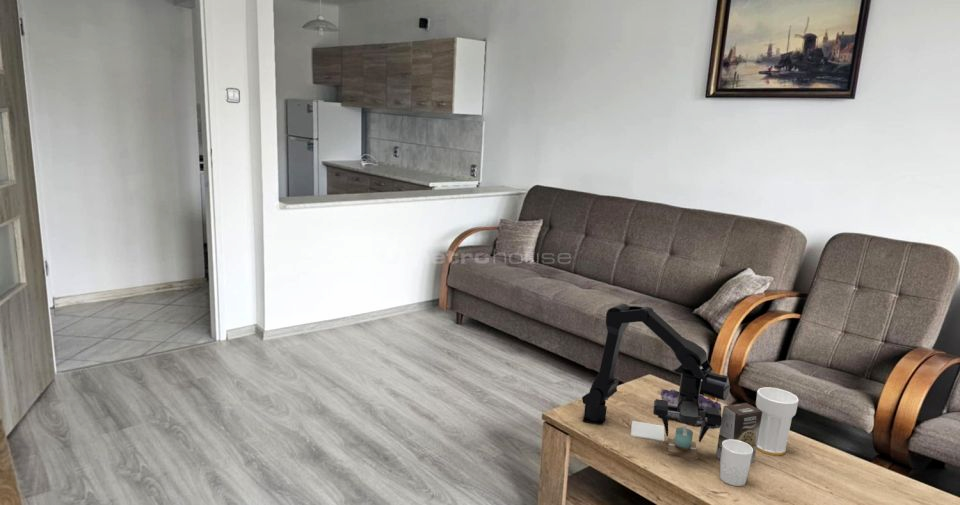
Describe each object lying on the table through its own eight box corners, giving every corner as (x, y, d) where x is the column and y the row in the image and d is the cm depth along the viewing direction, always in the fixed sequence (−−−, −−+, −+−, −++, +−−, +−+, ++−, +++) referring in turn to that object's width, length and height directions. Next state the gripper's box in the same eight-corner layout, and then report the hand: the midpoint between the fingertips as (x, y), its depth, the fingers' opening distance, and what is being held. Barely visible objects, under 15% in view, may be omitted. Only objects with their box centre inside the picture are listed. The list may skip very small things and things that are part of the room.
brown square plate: (668, 455, 184) (669, 447, 184) (667, 442, 192) (668, 434, 191) (696, 460, 182) (697, 452, 182) (695, 447, 190) (696, 439, 189)
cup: (789, 444, 195) (798, 392, 191) (789, 461, 185) (799, 406, 181) (749, 435, 199) (757, 384, 196) (748, 451, 189) (756, 397, 186)
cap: (691, 449, 183) (693, 434, 182) (674, 446, 185) (676, 431, 184) (690, 440, 189) (692, 426, 188) (674, 437, 190) (676, 423, 189)
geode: (722, 418, 211) (727, 392, 207) (718, 437, 201) (723, 410, 197) (660, 402, 219) (664, 376, 215) (653, 419, 209) (657, 393, 205)
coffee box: (730, 467, 180) (738, 415, 176) (714, 455, 186) (722, 405, 182) (755, 462, 183) (763, 411, 180) (738, 451, 189) (746, 401, 186)
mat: (630, 436, 195) (630, 434, 195) (631, 421, 204) (632, 420, 204) (664, 441, 192) (664, 440, 192) (663, 427, 202) (663, 426, 202)
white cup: (750, 489, 169) (756, 455, 167) (719, 485, 170) (724, 451, 168) (744, 474, 177) (749, 441, 175) (715, 469, 178) (719, 437, 176)
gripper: (656, 395, 178) (650, 445, 181) (726, 406, 173) (719, 458, 176) (656, 380, 188) (650, 428, 192) (722, 390, 184) (715, 439, 187)
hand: (683, 438), depth 186 cm, fingers open, 9 cm apart
